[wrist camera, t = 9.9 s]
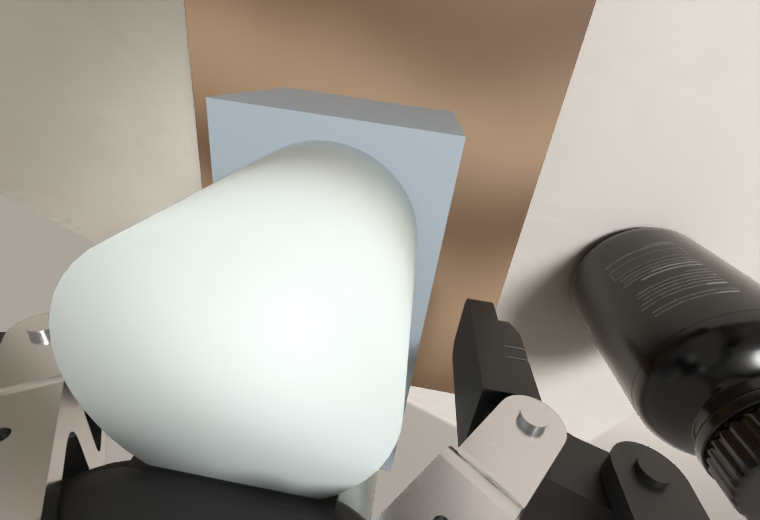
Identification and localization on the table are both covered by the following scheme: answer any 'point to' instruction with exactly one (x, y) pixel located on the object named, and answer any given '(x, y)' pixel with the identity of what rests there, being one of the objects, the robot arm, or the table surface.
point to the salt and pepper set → (270, 297)
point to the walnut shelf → (416, 88)
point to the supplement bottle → (681, 348)
